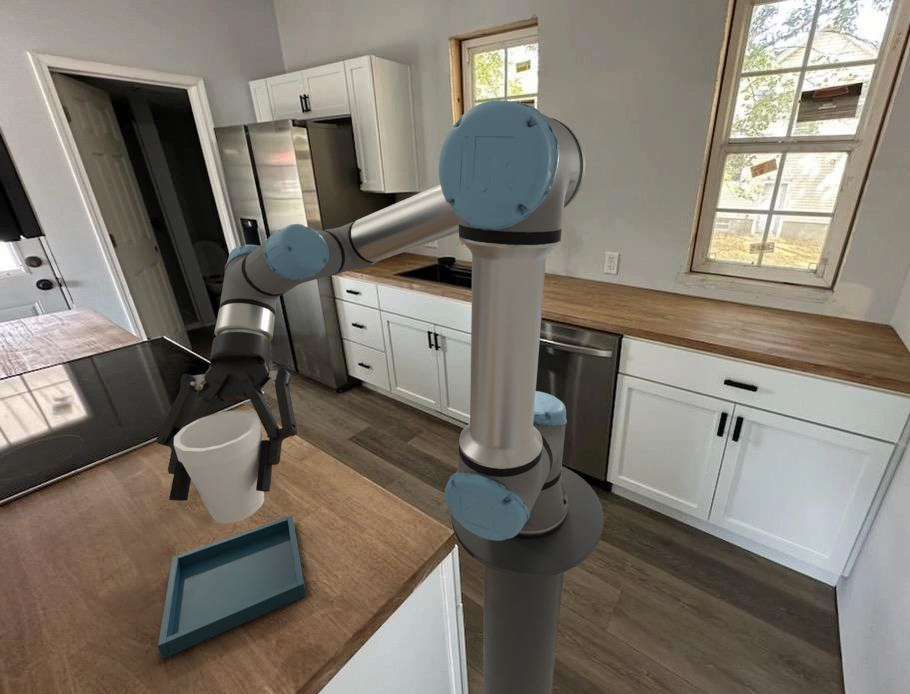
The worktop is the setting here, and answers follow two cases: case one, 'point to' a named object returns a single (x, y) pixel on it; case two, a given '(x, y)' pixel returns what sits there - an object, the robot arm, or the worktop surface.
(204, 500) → the foam cup
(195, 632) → the tray
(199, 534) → the worktop surface
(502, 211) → the robot arm
